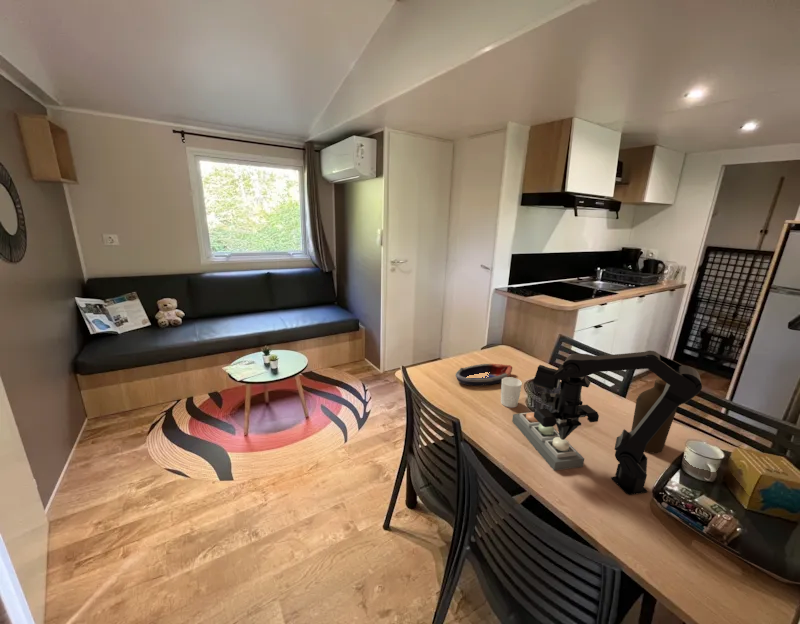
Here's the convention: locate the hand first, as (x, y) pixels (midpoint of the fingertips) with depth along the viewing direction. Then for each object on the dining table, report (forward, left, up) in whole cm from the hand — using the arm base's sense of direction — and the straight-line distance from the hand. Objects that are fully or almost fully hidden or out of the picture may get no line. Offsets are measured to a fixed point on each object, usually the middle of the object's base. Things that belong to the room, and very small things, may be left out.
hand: (562, 438), depth 108 cm
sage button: (+8, 0, -3) cm, 9 cm away
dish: (+55, +1, -8) cm, 56 cm away
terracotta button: (+16, 0, -4) cm, 17 cm away
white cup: (+33, 0, -7) cm, 34 cm away
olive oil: (+1, -34, -7) cm, 35 cm away
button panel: (+8, 0, -7) cm, 11 cm away
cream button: (0, 0, -3) cm, 3 cm away
